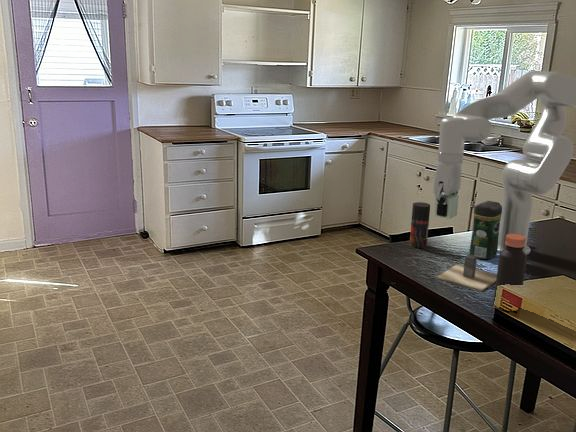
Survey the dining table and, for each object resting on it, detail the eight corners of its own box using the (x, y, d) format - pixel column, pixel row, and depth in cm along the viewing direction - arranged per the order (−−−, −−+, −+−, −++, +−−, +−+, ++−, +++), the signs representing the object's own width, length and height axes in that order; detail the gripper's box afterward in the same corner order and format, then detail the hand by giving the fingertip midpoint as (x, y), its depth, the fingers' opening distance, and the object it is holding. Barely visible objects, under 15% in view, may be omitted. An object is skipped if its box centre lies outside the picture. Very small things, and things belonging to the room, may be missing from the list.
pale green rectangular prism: (441, 212, 182) (443, 192, 180) (456, 215, 179) (458, 195, 177) (434, 215, 178) (435, 196, 176) (449, 219, 175) (451, 198, 173)
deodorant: (426, 248, 194) (430, 207, 190) (409, 247, 195) (412, 206, 191) (426, 243, 200) (430, 202, 195) (409, 241, 201) (412, 201, 196)
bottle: (490, 308, 150) (499, 237, 144) (495, 299, 155) (504, 231, 149) (517, 314, 146) (527, 242, 140) (521, 305, 152) (531, 235, 146)
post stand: (457, 265, 179) (459, 245, 177) (500, 277, 170) (503, 256, 168) (436, 278, 169) (438, 256, 167) (481, 291, 160) (484, 268, 158)
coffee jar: (477, 249, 194) (483, 197, 189) (499, 254, 189) (506, 202, 184) (465, 256, 188) (471, 203, 182) (487, 262, 182) (494, 207, 177)
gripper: (451, 152, 181) (447, 206, 187) (426, 160, 169) (422, 217, 174) (473, 155, 177) (468, 210, 182) (449, 163, 164) (444, 222, 170)
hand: (445, 213), depth 178 cm, fingers closed on pale green rectangular prism, 5 cm apart
